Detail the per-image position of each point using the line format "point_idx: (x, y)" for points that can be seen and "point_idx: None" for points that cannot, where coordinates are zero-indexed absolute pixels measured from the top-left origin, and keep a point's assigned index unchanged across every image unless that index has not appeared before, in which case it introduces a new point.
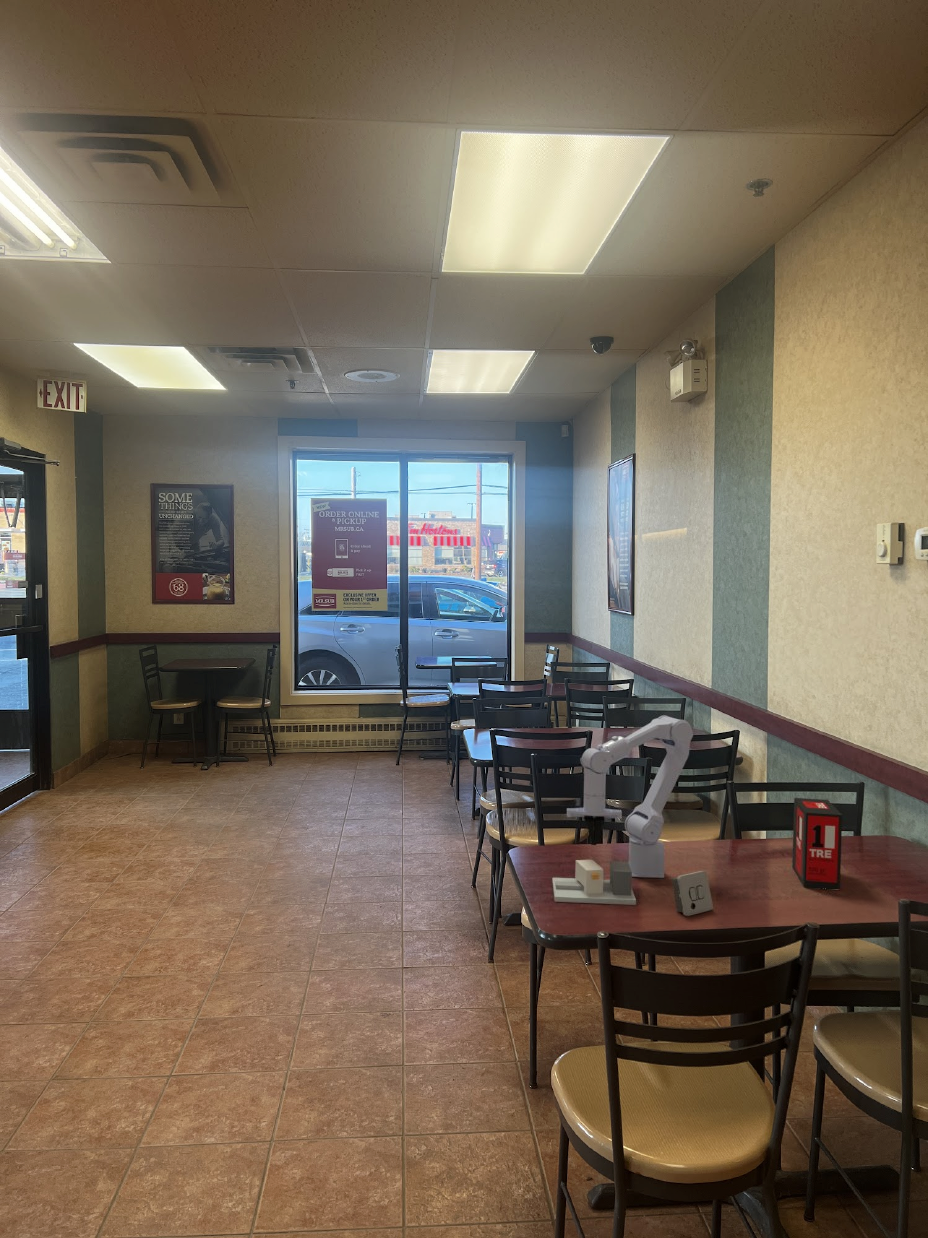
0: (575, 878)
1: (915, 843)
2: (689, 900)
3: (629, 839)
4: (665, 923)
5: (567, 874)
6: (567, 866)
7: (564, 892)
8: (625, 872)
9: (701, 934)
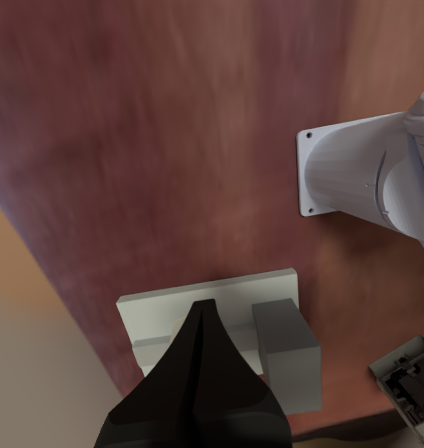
0: (173, 329)
1: None
2: (410, 402)
3: (381, 187)
4: (336, 406)
5: (141, 236)
6: (125, 171)
7: None
8: (304, 410)
9: (382, 423)
